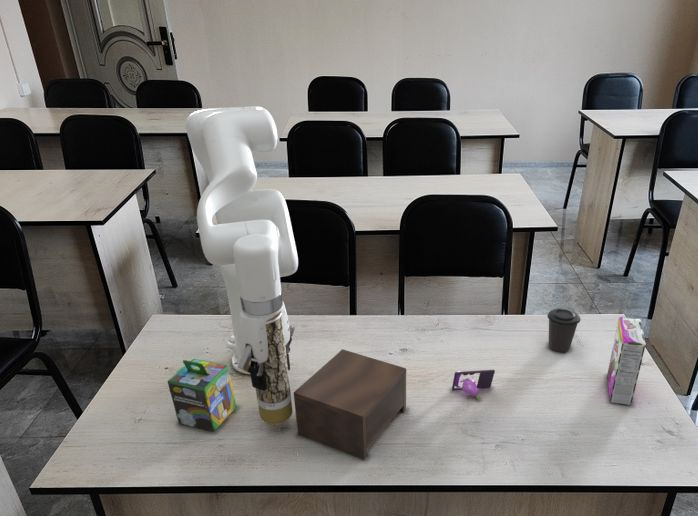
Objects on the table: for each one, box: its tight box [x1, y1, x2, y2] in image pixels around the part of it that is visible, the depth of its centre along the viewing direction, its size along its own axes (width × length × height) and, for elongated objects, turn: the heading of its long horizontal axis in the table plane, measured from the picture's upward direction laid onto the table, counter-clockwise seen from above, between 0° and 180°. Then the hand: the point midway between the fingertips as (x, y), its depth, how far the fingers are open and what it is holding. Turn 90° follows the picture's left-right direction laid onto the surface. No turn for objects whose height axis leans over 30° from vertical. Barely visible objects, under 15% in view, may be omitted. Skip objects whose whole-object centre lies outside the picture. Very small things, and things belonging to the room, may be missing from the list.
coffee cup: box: [546, 307, 582, 354], centre depth 152 cm, size 8×8×10 cm
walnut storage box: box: [293, 348, 407, 461], centre depth 126 cm, size 16×18×11 cm
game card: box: [451, 369, 496, 401], centre depth 136 cm, size 7×5×9 cm
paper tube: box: [253, 311, 293, 425], centre depth 120 cm, size 7×7×25 cm
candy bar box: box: [606, 316, 647, 406], centre depth 135 cm, size 11×5×16 cm, turn 167°
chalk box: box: [167, 358, 238, 433], centre depth 127 cm, size 9×9×15 cm
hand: (271, 377), depth 121 cm, fingers closed on paper tube, 6 cm apart
